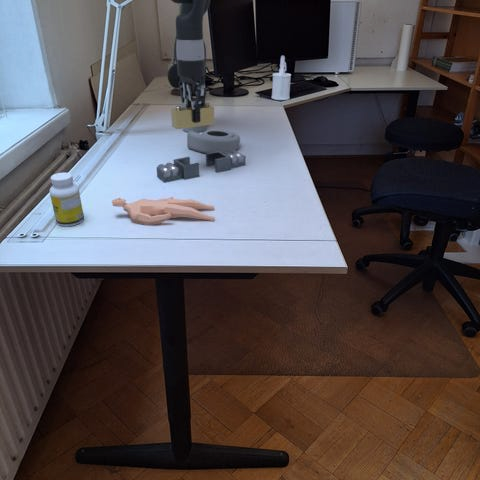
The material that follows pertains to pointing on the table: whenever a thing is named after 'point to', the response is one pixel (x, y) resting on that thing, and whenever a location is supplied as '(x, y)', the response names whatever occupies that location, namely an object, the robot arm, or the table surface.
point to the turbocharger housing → (213, 141)
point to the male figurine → (162, 210)
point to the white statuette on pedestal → (281, 83)
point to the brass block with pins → (184, 117)
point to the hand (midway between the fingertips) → (193, 120)
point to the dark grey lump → (174, 80)
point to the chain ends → (187, 170)
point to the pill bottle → (66, 200)
